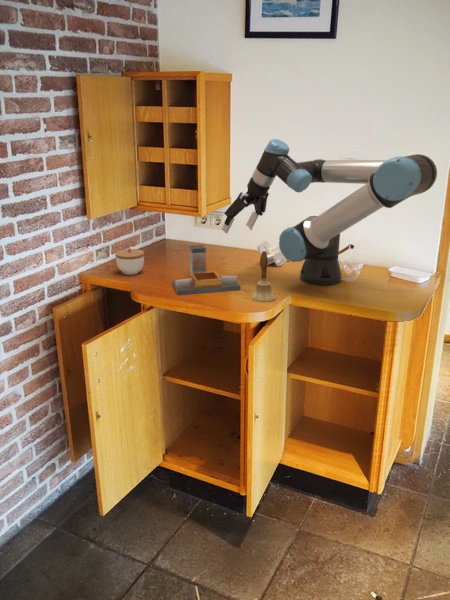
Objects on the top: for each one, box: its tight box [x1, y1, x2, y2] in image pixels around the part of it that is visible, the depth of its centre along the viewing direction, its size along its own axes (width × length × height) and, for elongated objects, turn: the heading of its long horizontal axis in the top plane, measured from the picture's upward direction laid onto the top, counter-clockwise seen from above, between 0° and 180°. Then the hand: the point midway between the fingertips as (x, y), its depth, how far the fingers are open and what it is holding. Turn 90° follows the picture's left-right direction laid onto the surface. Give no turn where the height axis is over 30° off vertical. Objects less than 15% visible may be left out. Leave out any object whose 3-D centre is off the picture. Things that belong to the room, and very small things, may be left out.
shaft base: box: [171, 271, 241, 296], centre depth 197 cm, size 22×12×4 cm, turn 104°
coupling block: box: [189, 244, 207, 275], centre depth 209 cm, size 5×5×11 cm
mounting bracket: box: [256, 240, 289, 267], centre depth 225 cm, size 12×6×11 cm, turn 153°
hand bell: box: [250, 250, 277, 303], centre depth 185 cm, size 8×8×16 cm
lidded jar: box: [114, 247, 145, 276], centre depth 212 cm, size 11×11×9 cm
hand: (236, 229), depth 209 cm, fingers open, 13 cm apart
